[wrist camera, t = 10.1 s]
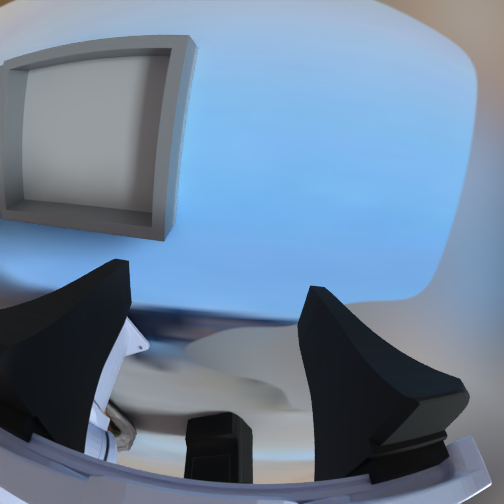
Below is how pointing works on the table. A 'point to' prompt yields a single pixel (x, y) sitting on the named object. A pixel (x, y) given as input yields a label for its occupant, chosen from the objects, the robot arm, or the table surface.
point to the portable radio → (219, 449)
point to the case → (96, 134)
